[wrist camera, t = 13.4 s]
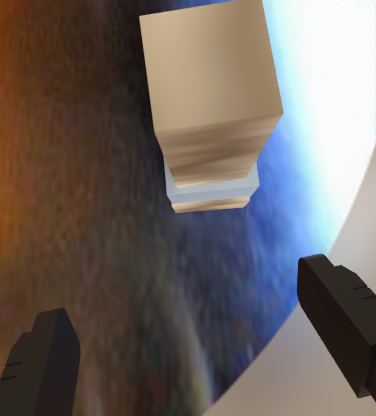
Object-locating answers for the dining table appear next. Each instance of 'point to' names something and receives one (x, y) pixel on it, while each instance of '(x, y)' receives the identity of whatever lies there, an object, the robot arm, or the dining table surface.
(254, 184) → the tower mid
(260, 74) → the maple block
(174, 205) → the tower base
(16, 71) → the dining table surface
